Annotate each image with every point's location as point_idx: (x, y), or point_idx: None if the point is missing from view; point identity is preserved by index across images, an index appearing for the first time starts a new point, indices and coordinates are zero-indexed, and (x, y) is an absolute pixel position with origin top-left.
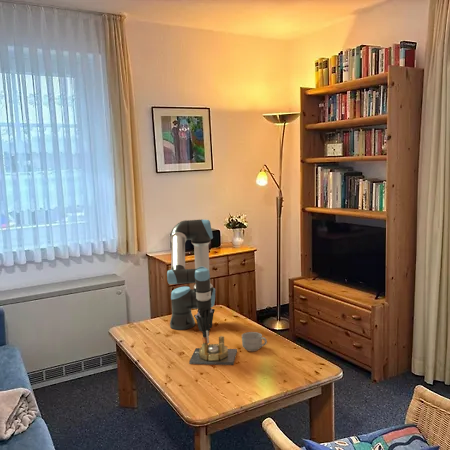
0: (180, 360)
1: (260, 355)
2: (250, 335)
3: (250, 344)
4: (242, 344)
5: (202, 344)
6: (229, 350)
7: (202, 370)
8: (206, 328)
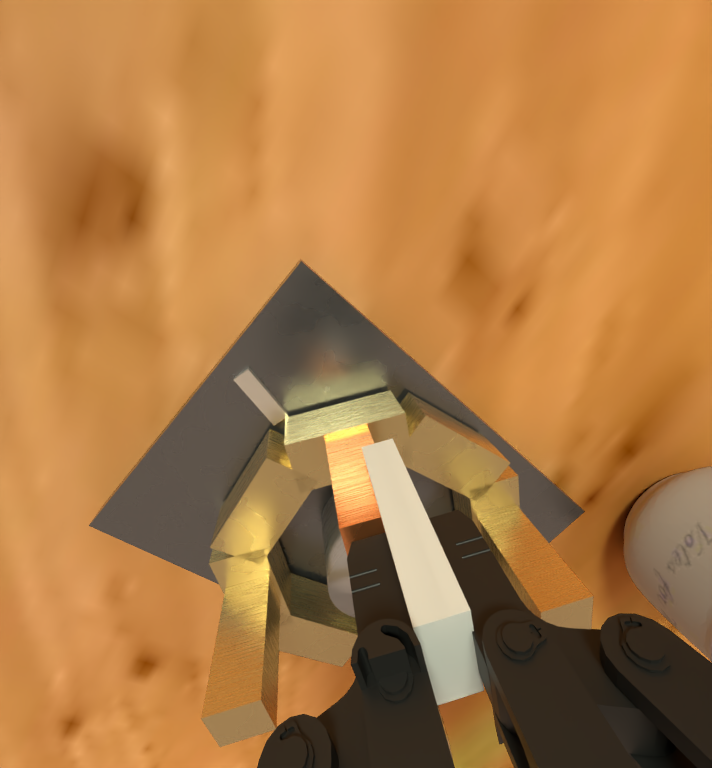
0: (30, 387)
1: (614, 605)
2: None
3: (667, 619)
4: (656, 529)
5: (207, 725)
6: (524, 506)
7: (170, 634)
8: (504, 707)
